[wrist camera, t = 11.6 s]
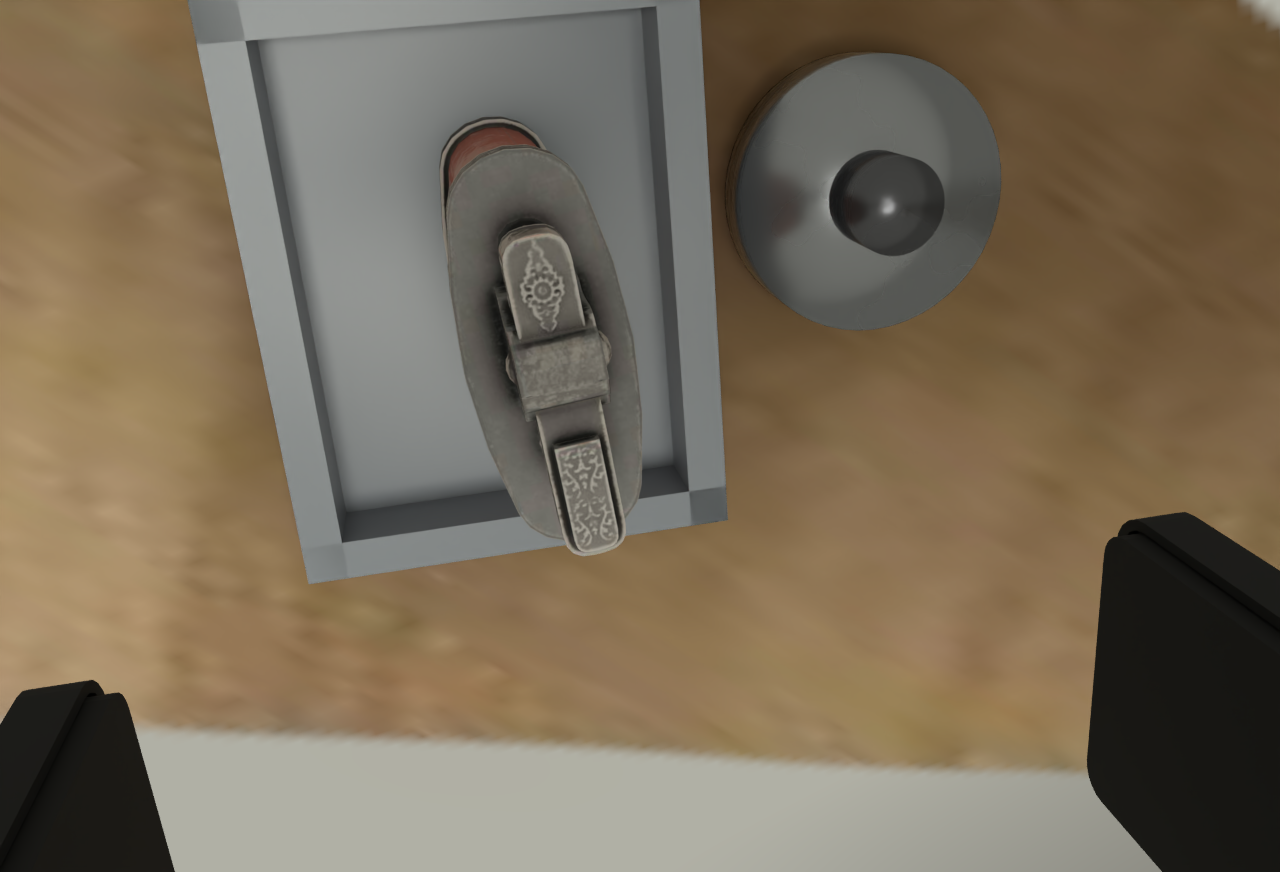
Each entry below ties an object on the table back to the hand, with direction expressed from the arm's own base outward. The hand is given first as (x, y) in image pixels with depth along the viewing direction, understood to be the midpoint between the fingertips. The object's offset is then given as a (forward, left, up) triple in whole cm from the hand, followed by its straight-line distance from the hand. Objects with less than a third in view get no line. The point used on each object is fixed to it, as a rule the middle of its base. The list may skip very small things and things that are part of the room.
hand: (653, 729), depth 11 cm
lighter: (0, 0, -20) cm, 20 cm away
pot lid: (-10, -1, -20) cm, 22 cm away
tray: (0, 0, -20) cm, 20 cm away
